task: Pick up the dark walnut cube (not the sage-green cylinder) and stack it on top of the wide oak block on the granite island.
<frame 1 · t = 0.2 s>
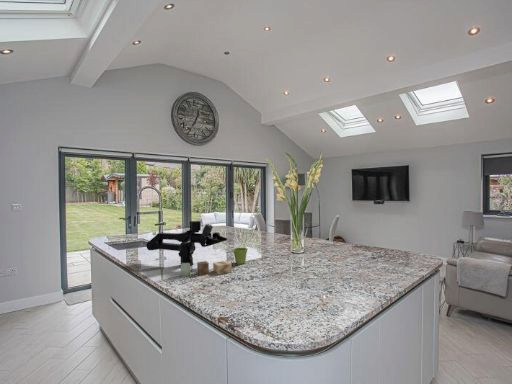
hand: (223, 240, 172), 17 cm above the worktop, tool horizontal, fingers open, 9 cm apart
plant pot: (240, 263, 185), on the worktop
oak block: (222, 272, 166), on the worktop
sage cylinder: (185, 274, 161), on the worktop
walnut cube: (203, 273, 164), on the worktop
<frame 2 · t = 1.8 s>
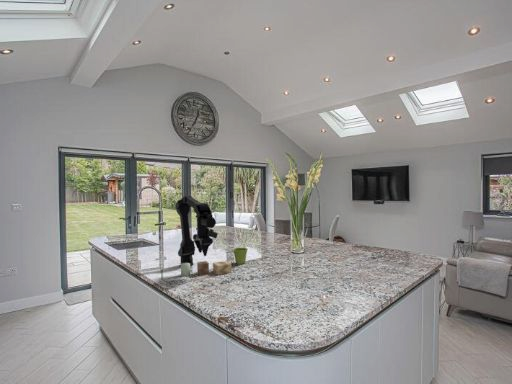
hand: (202, 254, 164), 11 cm above the worktop, tool pointing down, fingers open, 9 cm apart
nothing on the worktop moved.
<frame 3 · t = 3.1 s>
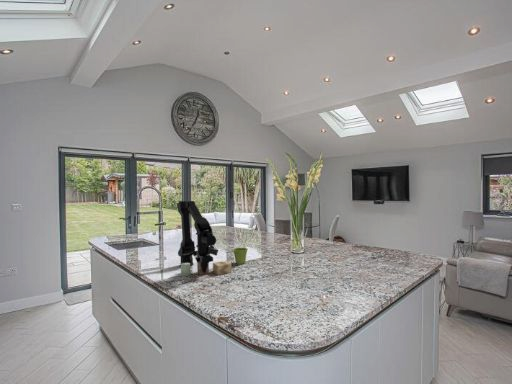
hand: (203, 271, 164), 1 cm above the worktop, tool pointing down, fingers closed on walnut cube, 5 cm apart
walnut cube: (203, 273, 164), on the worktop, touching gripper
everything else where it was.
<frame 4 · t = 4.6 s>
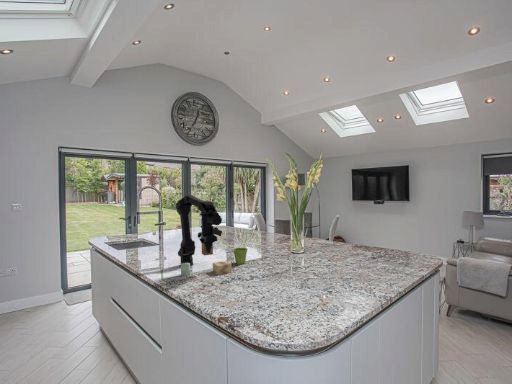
hand: (207, 252, 164), 12 cm above the worktop, tool pointing down, fingers closed on walnut cube, 5 cm apart
walnut cube: (207, 253, 164), point 11 cm above the worktop, touching gripper
everything else where it was.
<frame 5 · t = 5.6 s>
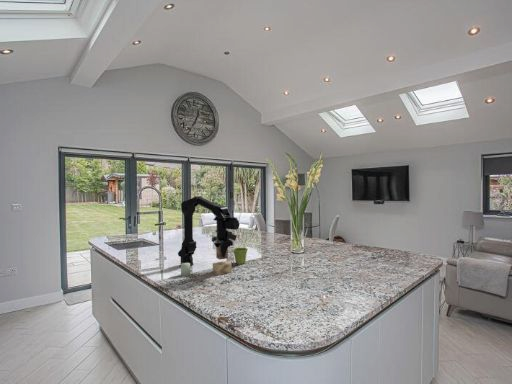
hand: (222, 256, 166), 9 cm above the worktop, tool pointing down, fingers closed on walnut cube, 5 cm apart
walnut cube: (222, 258, 166), point 8 cm above the worktop, touching gripper
everything else where it was.
when the fingers open (7 cm above the worktop, at t = 6.2 s): walnut cube drops 1 cm, resting on oak block.
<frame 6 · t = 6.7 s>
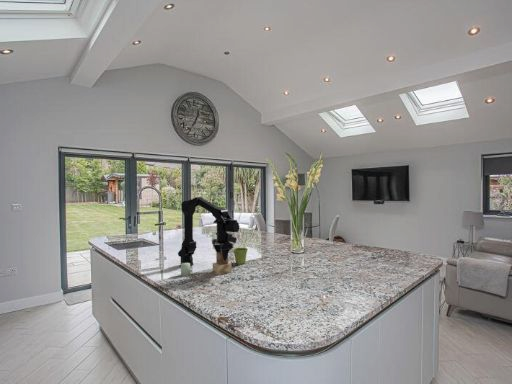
hand: (222, 258, 166), 7 cm above the worktop, tool pointing down, fingers open, 9 cm apart
oak block: (222, 272, 166), on the worktop, touching walnut cube
walnut cube: (222, 263, 166), point 5 cm above the worktop, touching oak block
everything else where it was.
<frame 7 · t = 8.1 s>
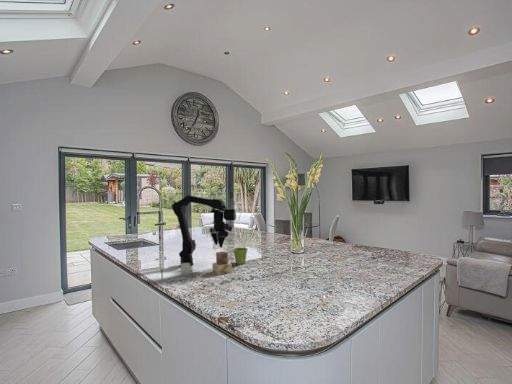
hand: (218, 246, 177), 12 cm above the worktop, tool pointing down, fingers open, 9 cm apart
nothing on the worktop moved.
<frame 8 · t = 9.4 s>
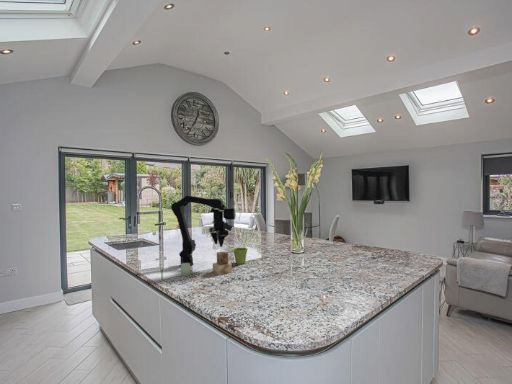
hand: (218, 245, 178), 13 cm above the worktop, tool pointing down, fingers open, 9 cm apart
nothing on the worktop moved.
at the end: walnut cube 0.2 cm off-centre on the oak block, point 5.0 cm above the oak block's base; walnut cube tilted 0°; walnut cube touching oak block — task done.
